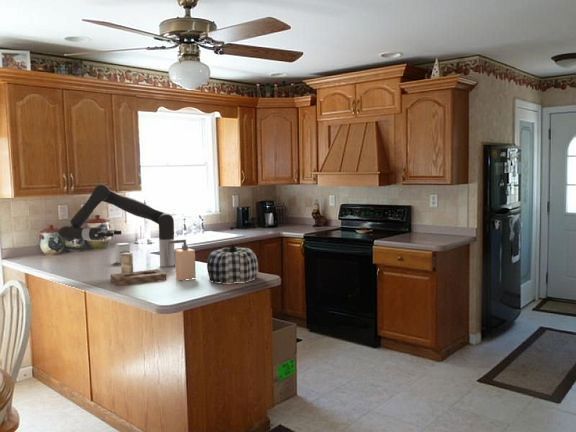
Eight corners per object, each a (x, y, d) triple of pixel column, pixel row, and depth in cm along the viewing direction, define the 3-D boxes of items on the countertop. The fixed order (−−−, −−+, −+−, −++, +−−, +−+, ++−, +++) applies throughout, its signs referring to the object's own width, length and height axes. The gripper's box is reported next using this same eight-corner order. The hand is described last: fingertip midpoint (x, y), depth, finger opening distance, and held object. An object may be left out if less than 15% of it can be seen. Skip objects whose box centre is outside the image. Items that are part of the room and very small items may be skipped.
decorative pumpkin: (222, 287, 266) (221, 249, 264) (196, 278, 289) (195, 243, 288) (269, 280, 283) (269, 243, 281) (242, 272, 307) (241, 238, 305)
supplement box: (119, 263, 340) (118, 244, 339) (115, 262, 346) (115, 243, 345) (130, 262, 344) (129, 243, 343) (126, 261, 350) (126, 242, 349)
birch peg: (126, 280, 287) (124, 252, 285) (134, 280, 286) (133, 252, 284) (120, 282, 282) (119, 254, 280) (129, 282, 280) (128, 254, 279)
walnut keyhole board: (157, 275, 300) (157, 269, 300) (166, 279, 287) (166, 273, 287) (111, 280, 287) (110, 274, 286) (118, 285, 273) (118, 279, 273)
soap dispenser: (190, 276, 295) (189, 238, 293) (195, 279, 288) (194, 239, 286) (168, 279, 289) (167, 239, 287) (173, 281, 282) (172, 241, 280)
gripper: (84, 228, 297) (110, 228, 293) (98, 226, 310) (123, 225, 307) (85, 241, 297) (111, 241, 294) (99, 238, 311) (124, 238, 308)
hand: (117, 233), depth 300 cm, fingers open, 8 cm apart
